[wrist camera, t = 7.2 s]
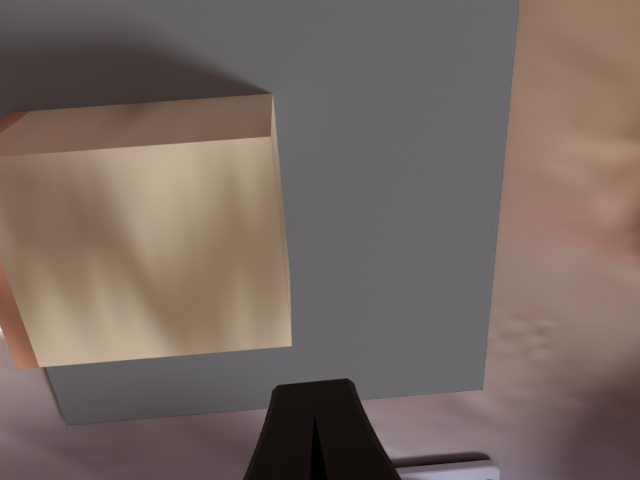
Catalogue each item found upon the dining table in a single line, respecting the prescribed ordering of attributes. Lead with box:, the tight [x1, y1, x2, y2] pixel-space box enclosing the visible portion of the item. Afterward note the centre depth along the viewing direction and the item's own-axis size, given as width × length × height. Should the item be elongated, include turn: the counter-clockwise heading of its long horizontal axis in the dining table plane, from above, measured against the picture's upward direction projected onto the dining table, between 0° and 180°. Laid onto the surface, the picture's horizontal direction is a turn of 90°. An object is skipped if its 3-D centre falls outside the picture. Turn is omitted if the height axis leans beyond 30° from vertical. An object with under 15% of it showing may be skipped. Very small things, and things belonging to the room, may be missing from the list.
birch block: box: [0, 94, 292, 369], centre depth 16 cm, size 6×4×8 cm
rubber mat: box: [0, 0, 519, 426], centre depth 18 cm, size 18×16×1 cm
